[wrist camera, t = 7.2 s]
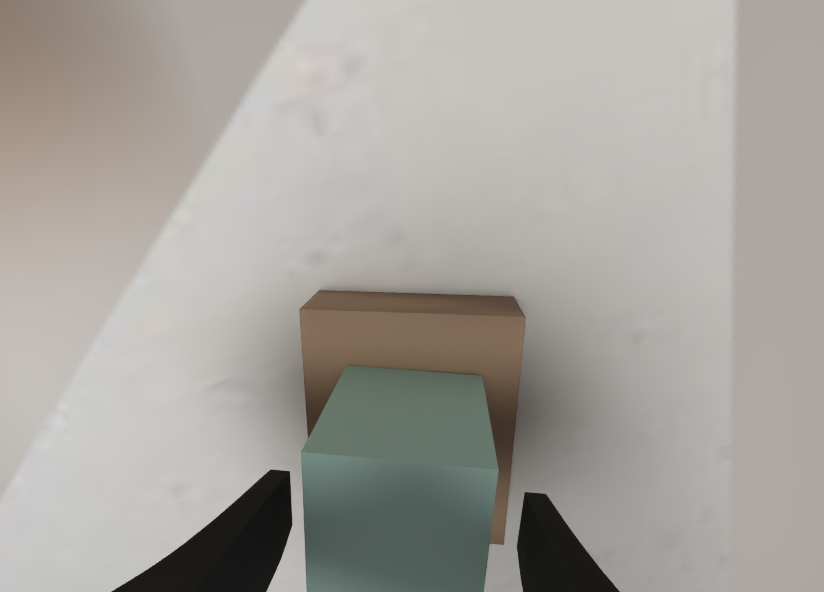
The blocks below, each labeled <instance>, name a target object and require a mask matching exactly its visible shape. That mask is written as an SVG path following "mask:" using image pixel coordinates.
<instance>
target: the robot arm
mask: <svg viewBox="0 0 824 592" xmlns="http://www.w3.org/2000/svg"><path fill="white" fill-rule="evenodd" d="M291 527H292V507H291V486H290V471H280V470H270V471H269V472H267V473H266V474H265V475H264V476H263V477H262V478H261V479H259V480H258V481H257V482H256V483H255V484H254V485H253V486H252V487H251V488H250V489H248V490H247V491H246V492H245V493H244V494H243V495H242V496H241V497H240V498H239V499H237V500H236V501H235V502H234V503H233V504H232V505H231V506H229V507H228V508H227V509H226V510H225V511H224V512H222V513H221V514H220V515H219V516H218V517H217V518H216V519H214V520H213V521H212V522H211V523H210V524H208V525H207V526H206V527H205V528H203V529H202V530H201V531H200V532H198V533H197V534H196V535H195V536H193V537H192V538H191V539H190V540H188V541H187V542H186V543H184V544H183V545H182V546H180V547H179V548H178V549H176V550H175V551H174V552H172V553H171V554H170V555H168V556H167V557H165V558H164V559H162V560H161V561H159V562H158V563H156V564H155V565H154V566H152V567H151V568H149V569H148V570H146V571H145V572H143V573H141V574H140V575H138V576H136V577H135V578H133V579H132V580H130V581H128V582H127V583H125V584H123V585H122V586H120V587H118V588H117V589H115V590H114V591H112V592H266V591H267V589H268V587H269V585H270V582H271V580H272V578H273V576H274V574H275V571H276V569H277V567H278V565H279V562H280V560H281V557H282V554H283V552H284V549H285V546H286V543H287V540H288V537H289V533H290V530H291ZM517 551H518V559H519V567H520V575H521V582H522V587H523V592H619V590H618V589H617V588H616V587H615V586H614V584H613V583H612V582H611V581H610V580H609V579H608V577H607V576H606V575H605V574H604V573H603V571H602V570H601V569H600V568H599V566H598V565H597V564H596V563H595V561H594V560H593V559H592V557H591V556H590V555H589V554H588V552H587V551H586V550H585V548H584V547H583V546H582V544H581V543H580V542H579V540H578V539H577V538H576V536H575V535H574V534H573V532H572V531H571V529H570V528H569V527H568V525H567V524H566V522H565V521H564V520H563V518H562V517H561V515H560V514H559V512H558V511H557V509H556V508H555V506H554V505H553V503H552V502H551V501H550V499H549V498H548V496H547V495H546V494H539V493H528V492H525V495H524V501H523V508H522V515H521V522H520V529H519V536H518V543H517Z"/></svg>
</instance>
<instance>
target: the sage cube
mask: <svg viewBox="0 0 824 592" xmlns="http://www.w3.org/2000/svg"><path fill="white" fill-rule="evenodd" d="M301 456H302V481H303V506H304V532H305V557H306V582H307V592H484V584H485V576H486V568H487V560H488V552H489V543H490V535H491V527H492V519H493V511H494V503H495V495H496V487H497V479H498V471H499V469H498V463H497V458H496V452H495V446H494V440H493V435H492V429H491V423H490V417H489V412H488V406H487V400H486V394H485V389H484V383H483V377H482V376H481V375H468V374H455V373H442V372H429V371H416V370H403V369H389V368H376V367H363V366H350V365H346V367H345V369H344V371H343V373H342V375H341V377H340V379H339V381H338V382H337V384H336V386H335V388H334V390H333V392H332V394H331V396H330V398H329V400H328V402H327V404H326V406H325V407H324V409H323V411H322V413H321V415H320V417H319V419H318V421H317V423H316V425H315V427H314V429H313V431H312V432H311V434H310V436H309V438H308V440H307V442H306V444H305V446H304V448H303V450H302V452H301Z"/></svg>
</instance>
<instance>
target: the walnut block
mask: <svg viewBox="0 0 824 592" xmlns="http://www.w3.org/2000/svg"><path fill="white" fill-rule="evenodd" d="M300 323H301V338H302V353H303V368H304V383H305V398H306V413H307V428H308V438H309V436H310V434H311V432H312V431H313V429H314V427H315V425H316V423H317V421H318V419H319V417H320V415H321V413H322V411H323V409H324V407H325V406H326V404H327V402H328V400H329V398H330V396H331V394H332V392H333V390H334V388H335V386H336V384H337V382H338V381H339V379H340V377H341V375H342V373H343V371H344V369H345V367H346V365H350V366H363V367H376V368H389V369H403V370H416V371H429V372H442V373H455V374H468V375H481V376H482V377H483V383H484V389H485V394H486V400H487V406H488V412H489V417H490V423H491V429H492V435H493V440H494V446H495V452H496V458H497V463H498V469H499V471H498V479H497V487H496V495H495V503H494V511H493V519H492V527H491V535H490V543H489V544H502V545H504V536H505V526H506V515H507V505H508V494H509V484H510V473H511V463H512V452H513V441H514V431H515V420H516V410H517V399H518V389H519V378H520V368H521V357H522V347H523V336H524V326H525V316H524V314H523V312H522V310H521V309H520V307H519V305H518V304H517V302H516V300H515V298H514V297H509V296H477V295H446V294H415V293H384V292H353V291H321V290H319V291H318V292H317V293H316V294H315V295H314V296H313V297H312V298H311V299H310V300H309V301H308V302H307V303H306V304H305V305H303V306H302V307H301V308H300Z"/></svg>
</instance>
